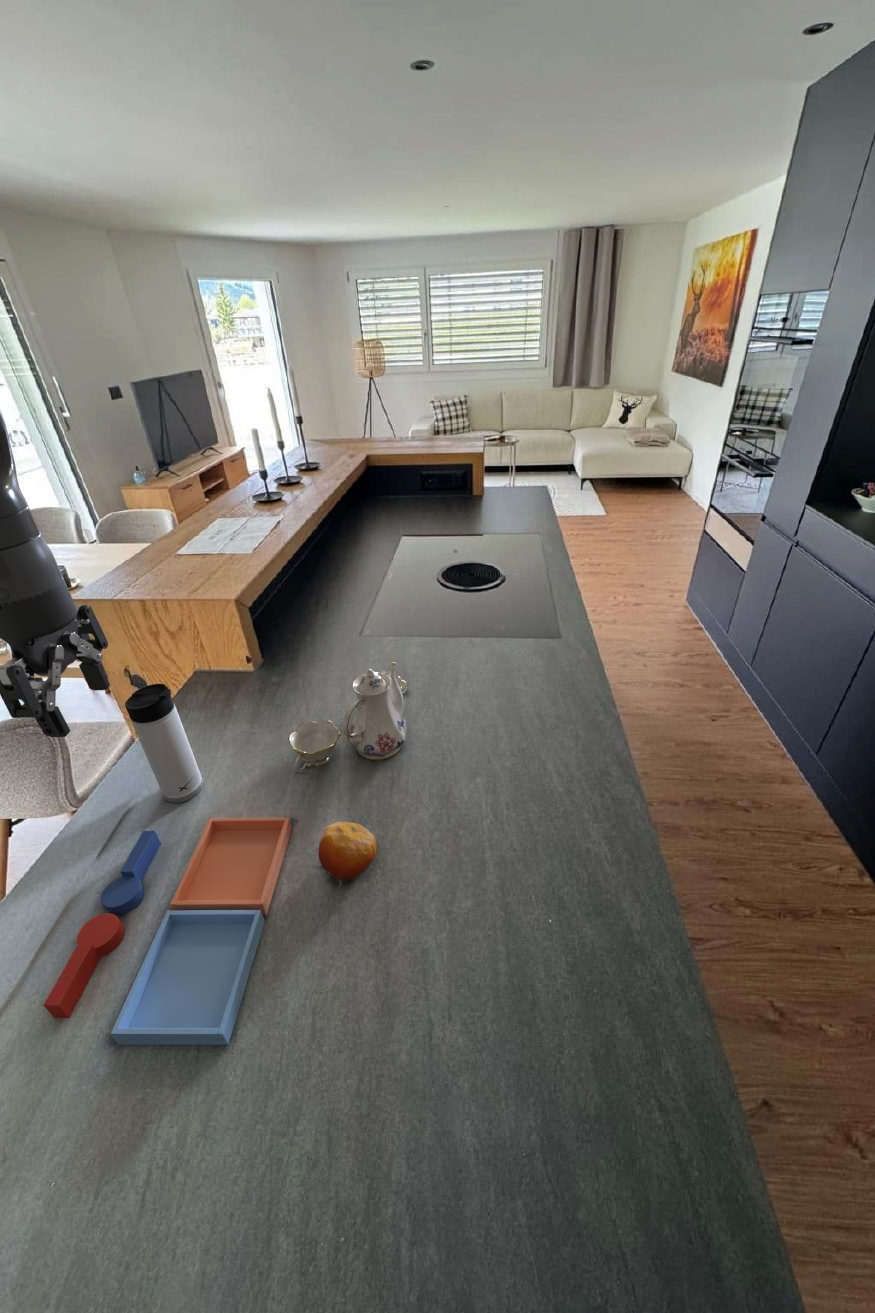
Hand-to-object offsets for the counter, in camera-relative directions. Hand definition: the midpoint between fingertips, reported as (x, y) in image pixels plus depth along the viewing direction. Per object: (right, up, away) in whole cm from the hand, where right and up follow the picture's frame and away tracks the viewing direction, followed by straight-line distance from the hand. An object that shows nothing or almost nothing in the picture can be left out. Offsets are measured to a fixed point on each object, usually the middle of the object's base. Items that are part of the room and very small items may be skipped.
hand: (81, 710), depth 64 cm
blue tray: (+13, -32, +2) cm, 35 cm away
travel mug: (-1, -16, +28) cm, 32 cm away
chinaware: (+28, -9, +37) cm, 48 cm away
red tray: (+13, -24, +15) cm, 31 cm away
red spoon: (-1, -32, +4) cm, 32 cm away
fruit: (+29, -23, +14) cm, 40 cm away
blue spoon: (-1, -25, +14) cm, 29 cm away
